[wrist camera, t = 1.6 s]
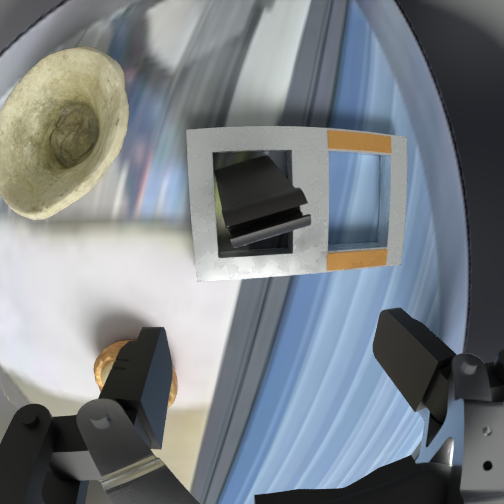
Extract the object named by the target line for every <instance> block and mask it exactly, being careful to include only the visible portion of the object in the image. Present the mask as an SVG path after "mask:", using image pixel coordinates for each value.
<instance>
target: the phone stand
mask: <svg viewBox="0 0 504 504" xmlns="http://www.w3.org/2000/svg"><path fill="white" fill-rule="evenodd" d="M214 173H215V177H216V182H217V187H218V191H219V196H220V201H221V205H222V214H223V218H224V222H225V225H226V228H227V227H228V229H229V232H230V236H231V237H230V241H231V244H232V246H233V249H234V248H237V247H241V246H245V245H248V244H251V243H255V242H258V241H261V240H264V239H268V238H271V237H274V236H278V235H281V234H284V233H287V232H290V231H293V230H297V229H300V228H303V227H306V226H310V225H311V215H310V214H307V215H303V214H302V212H301V209H300V206H301V205H305V204H307V203H308V202H307V199H306V197H305V194H304V193H303V191H302V190H301V188H299V187H298V188H295V187H294V186H293V185H292V184H291V183H290V181H289V180H288V179H287V178H286V177H285V175H284V174H283V173H282V172H281V171H280V169H279V168H278V167H277V166H276V165H275V163H274V162H273V161H272V160H271V159H270V158H269V156H268V155H266V156H262V157H258V158H255V159H251V160H248V161H244V162H241V163H237V164H234V165H230V166H227V167H224V168H220V169H217V170H214Z"/></svg>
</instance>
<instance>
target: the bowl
mask: <svg viewBox="0 0 504 504" xmlns="http://www.w3.org/2000/svg"><path fill="white" fill-rule="evenodd" d="M128 119H129V103H128V98H127V93H126V91H125V77H124V72H123V70H122V68H121V66H120V65H119V63H118V62H117V61H116V60H114V59H112V58H111V57H110V56H109V55H107V54H105V53H103V52H101V51H100V50H97V49H96V48H92V47H89V46H80V47H74V48H70V49H65V50H61V51H58V52H56V53H53V54H50V55H48V56H46V57H45V58H43V59H42V60H40V61H39V62H38V63H37V64H36V65H35V66H34V67H33V68H31V69H30V70H29V71H28V72H27V73H26V74H25V75H24V76H23V78H22V79H21V80H20V81H19V82H18V84H17V85H16V86H15V87H14V89H13V91H12V92H11V93H10V95H9V96H8V98H7V100H6V102H5V104H4V106H3V108H2V110H1V112H0V194H1V196H2V198H3V199H4V201H5V202H6V203H7V204H8V205H9V206H10V208H11V209H12V210H13V211H15V212H16V213H18V214H19V215H22V216H24V217H27V218H30V219H33V220H37V219H41V220H42V219H45V218H48V217H50V216H52V215H54V214H56V213H57V212H58V211H61V210H63V209H64V208H66V207H67V206H69V205H70V204H71V203H73V202H75V201H77V200H78V199H79V198H81V197H82V196H84V195H85V194H86V193H87V192H88V191H90V190H91V189H92V188H93V186H94V185H95V184H96V183H97V182H98V181H99V180H100V179H101V178H102V176H103V175H104V173H105V172H106V171H107V169H108V167H109V166H110V165H111V164H112V162H113V161H114V159H115V158H116V157H117V156H118V154H119V153H120V150H121V148H122V146H123V142H124V138H125V135H126V133H127V125H128Z"/></svg>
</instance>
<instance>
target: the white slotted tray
mask: <svg viewBox="0 0 504 504" xmlns="http://www.w3.org/2000/svg"><path fill="white" fill-rule="evenodd" d="M186 133H187V159H188V179H189V195H190V210H191V222H192V234H193V245H194V256H195V266H196V275H197V282H200V281H217V280H232V279H247V278H261V277H275V276H287V275H300V274H312V273H323V272H335V271H345V270H356V269H366V268H376V267H386V266H395V265H401V258H402V249H403V240H404V229H405V216H406V197H407V138H406V137H402V136H396V135H389V134H382V133H374V132H366V131H356V130H346V129H334V128H319V127H296V126H241V127H218V128H203V129H191V130H186ZM260 151H286V153H287V179H288V180H289V181H290V183H291V184H292V185H293V186H294V187H295V188H298V187H299V188H301V190H302V191H303V193H304V194H305V197H306V199H307V202H308V203H307V204H305V205H301V206H300V209H301V212H302V214H303V215H307V214H310V215H311V225H310V226H306V227H303V228H300V229H297V230H293V231H290V232H288V247H283V248H267V249H251V250H235V251H219V249H218V235H217V219H216V202H215V184H214V162H213V153H231V152H260ZM328 152H335V153H352V154H366V155H378V156H380V205H379V225H378V239H377V242H366V243H349V244H333V245H328V225H329V153H328Z"/></svg>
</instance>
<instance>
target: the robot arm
mask: <svg viewBox="0 0 504 504" xmlns="http://www.w3.org/2000/svg"><path fill="white" fill-rule="evenodd" d="M373 353H374V356H375V358H376V359H377V361H378V362H379V363H380V365H381V366H382V368H383V369H384V370H385V372H386V373H387V374H388V376H389V377H390V378H391V380H392V381H393V382H394V384H395V385H396V387H397V388H398V389H399V391H400V392H401V393H402V395H403V396H404V398H405V399H406V400H407V402H408V403H409V405H410V406H411V407H412V409H413V410H414V412H417V411H418V412H419V414H420V415H421V417H422V418H423V419H424V421H425V423H424V431H423V437H422V443H421V449H420V454H419V457H418V459H417V461H416V463H415V461H414V459H413V458H412V456H411V455H410V456H408V457H405V458H403V459H401V460H398V461H396V462H393V463H390V464H388V465H385V466H382V467H380V468H378V469H376V470H375V471H373V472H371V473H370V474H368V475H366V476H365V477H363V478H361V479H360V480H358V481H356V482H354V483H353V484H351V485H349V486H347V487H344V488H339V489H296V490H290V491H284V492H277V493H269V494H260V495H254V499H255V504H504V349H503V350H501V351H500V352H499V353H498V356H497V358H496V360H495V362H492V363H484V362H483V361H482V360H481V359H480V358H479V357H477V356H475V355H472V354H468V353H461V354H458V355H456V354H455V353H454V352H453V351H452V350H451V349H450V348H449V347H448V346H447V345H446V344H445V343H444V342H442V341H441V340H440V339H439V338H438V337H436V335H435V334H434V333H433V332H431V331H429V329H428V328H427V327H426V326H425V325H424V324H423V323H421V322H419V321H417V320H415V319H413V318H412V317H411V316H409V315H408V314H407V313H406V312H405V311H404V310H403V309H401V308H393V309H387V310H383V311H382V312H381V313H380V315H379V320H378V324H377V329H376V333H375V337H374V342H373ZM172 376H173V369H172V361H171V356H170V351H169V346H168V341H167V336H166V331H165V329H164V327H143V328H142V329H141V332H140V334H139V337H138V339H137V341H129V342H127V343H126V344H125V345H124V346H123V347H122V348H121V349H120V350H119V352H118V355H117V357H116V361H114V363H113V366H112V369H111V370H110V372H109V375H108V377H107V379H106V381H105V384H104V386H103V388H102V391H101V393H100V396H99V398H98V399H95V400H92V401H89V402H87V403H86V404H84V405H83V406H82V407H81V408H80V409H79V411H78V413H77V415H72V416H59V417H52V415H51V414H50V412H49V410H48V409H47V408H46V407H44V406H42V405H40V404H29V405H26V406H24V407H22V408H20V409H19V410H18V411H17V412H16V414H15V415H14V417H13V419H12V421H11V423H10V425H9V427H8V429H7V431H6V433H5V435H4V437H3V439H2V441H1V444H0V504H85V500H86V495H87V488H88V484H89V480H99V479H103V481H102V486H103V488H104V490H105V492H106V494H107V496H108V497H109V499H110V501H111V502H112V504H200V503H199V502H198V501H197V500H196V499H195V498H194V497H193V496H192V495H191V493H190V492H189V491H188V490H187V489H186V488H185V487H184V486H183V485H182V484H181V482H180V481H179V480H178V479H177V478H176V477H175V476H174V474H173V473H172V472H171V471H170V470H169V468H168V467H167V466H166V465H165V464H164V462H163V461H162V460H161V459H160V458H157V457H156V456H155V455H154V454H153V452H152V451H151V450H150V449H161V448H162V441H163V434H164V427H165V420H166V413H167V407H168V401H169V395H170V389H171V383H172Z"/></svg>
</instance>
